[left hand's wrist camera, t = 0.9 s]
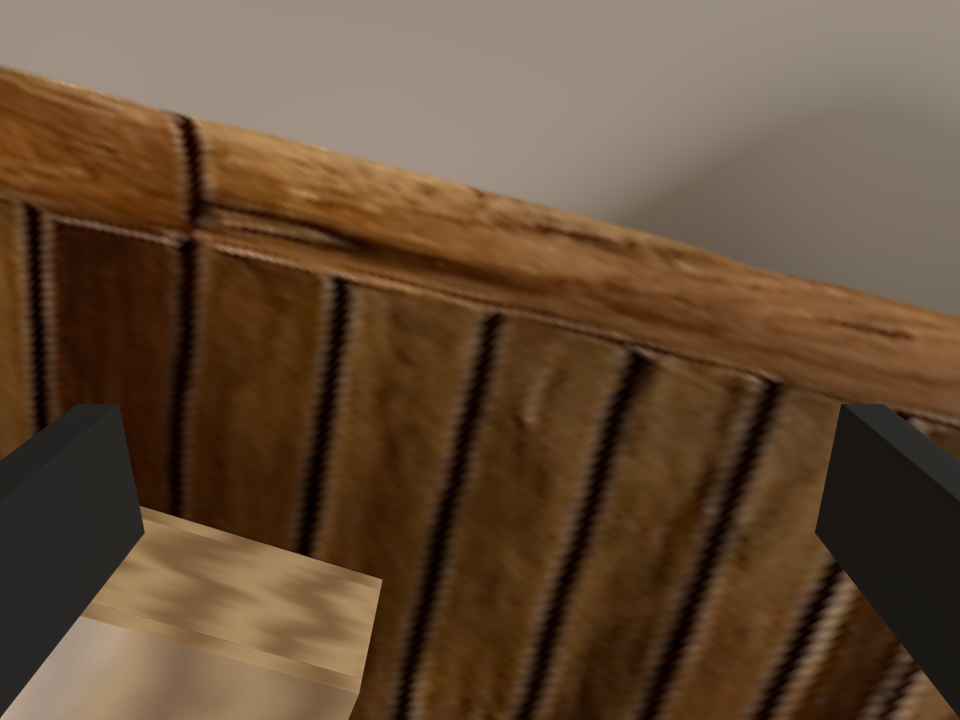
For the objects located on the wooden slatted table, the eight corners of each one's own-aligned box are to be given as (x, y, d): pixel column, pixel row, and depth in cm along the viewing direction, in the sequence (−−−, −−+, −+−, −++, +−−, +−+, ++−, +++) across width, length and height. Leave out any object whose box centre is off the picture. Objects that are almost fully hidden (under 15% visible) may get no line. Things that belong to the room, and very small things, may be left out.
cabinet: (44, 608, 46) (-57, 726, 38) (67, 483, 43) (-38, 581, 34) (338, 690, 49) (307, 818, 40) (382, 579, 45) (359, 693, 37)
